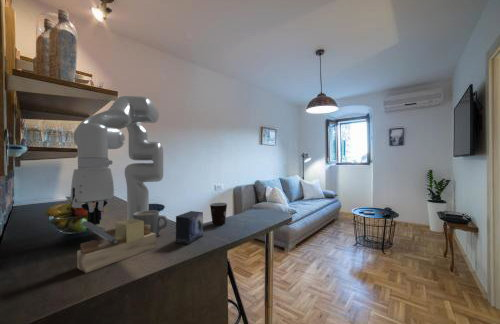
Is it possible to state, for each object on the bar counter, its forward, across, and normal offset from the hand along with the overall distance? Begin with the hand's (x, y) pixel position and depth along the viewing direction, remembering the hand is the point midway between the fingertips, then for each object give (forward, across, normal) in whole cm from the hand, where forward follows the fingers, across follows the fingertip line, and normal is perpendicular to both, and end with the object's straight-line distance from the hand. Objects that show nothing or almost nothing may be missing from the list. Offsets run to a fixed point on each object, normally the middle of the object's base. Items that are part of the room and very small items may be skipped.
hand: (94, 223), depth 66 cm
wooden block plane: (+13, -7, 0) cm, 15 cm away
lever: (+7, -5, 0) cm, 8 cm away
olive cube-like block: (+8, -10, 0) cm, 13 cm away
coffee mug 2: (+13, -52, +4) cm, 54 cm away
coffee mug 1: (+13, -25, -10) cm, 31 cm away
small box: (+13, -30, +8) cm, 34 cm away
